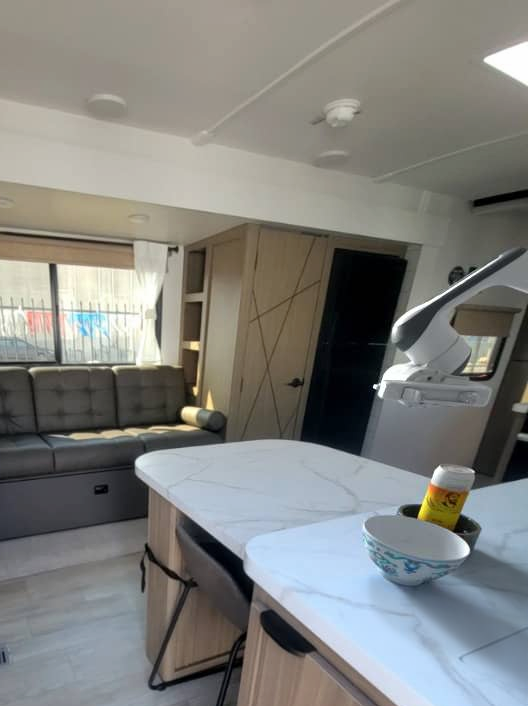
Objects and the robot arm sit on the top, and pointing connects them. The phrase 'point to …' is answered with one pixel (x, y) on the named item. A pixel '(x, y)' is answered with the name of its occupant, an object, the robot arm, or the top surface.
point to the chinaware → (412, 548)
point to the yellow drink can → (446, 495)
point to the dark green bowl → (463, 527)
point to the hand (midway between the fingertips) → (447, 398)
